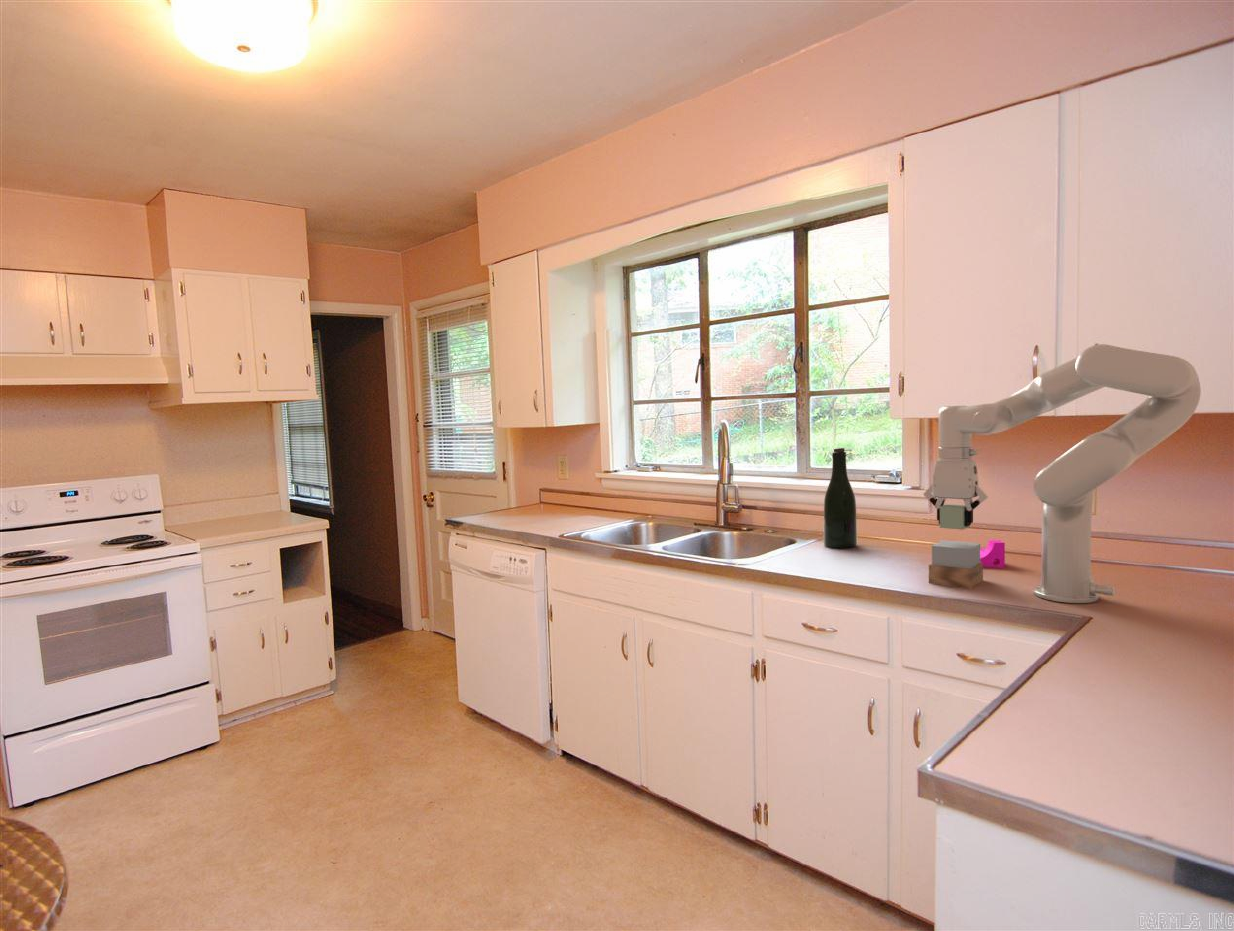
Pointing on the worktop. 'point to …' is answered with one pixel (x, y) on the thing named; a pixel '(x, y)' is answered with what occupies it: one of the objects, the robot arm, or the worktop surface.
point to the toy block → (993, 554)
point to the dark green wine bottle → (840, 507)
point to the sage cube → (953, 516)
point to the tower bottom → (956, 576)
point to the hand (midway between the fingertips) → (954, 523)
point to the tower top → (956, 554)
